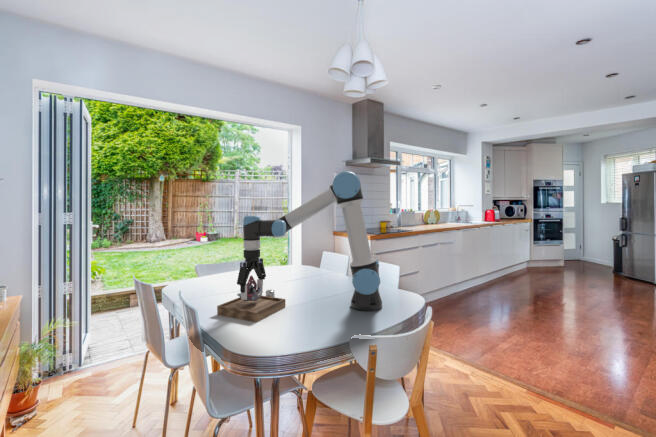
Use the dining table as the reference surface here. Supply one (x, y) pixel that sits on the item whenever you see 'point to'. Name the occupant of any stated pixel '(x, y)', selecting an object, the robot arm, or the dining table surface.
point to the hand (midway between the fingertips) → (252, 296)
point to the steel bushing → (270, 293)
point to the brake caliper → (252, 290)
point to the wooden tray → (251, 308)
